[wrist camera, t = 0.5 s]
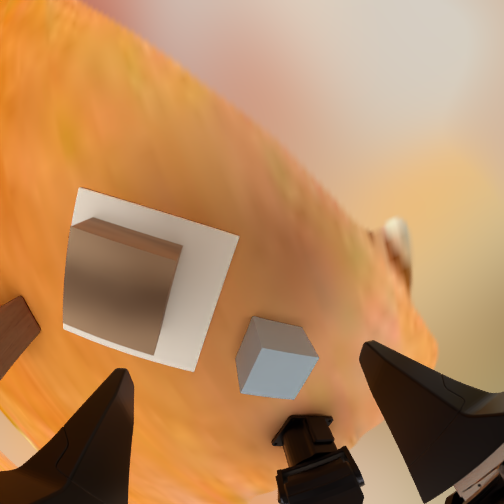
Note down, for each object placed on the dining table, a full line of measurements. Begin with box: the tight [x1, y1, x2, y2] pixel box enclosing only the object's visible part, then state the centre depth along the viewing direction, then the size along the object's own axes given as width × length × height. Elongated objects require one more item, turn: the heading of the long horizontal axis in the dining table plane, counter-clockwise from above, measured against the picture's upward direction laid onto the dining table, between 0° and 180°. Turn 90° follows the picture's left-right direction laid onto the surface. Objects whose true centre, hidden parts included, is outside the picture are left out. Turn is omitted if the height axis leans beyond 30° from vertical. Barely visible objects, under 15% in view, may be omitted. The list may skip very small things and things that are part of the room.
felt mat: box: [63, 187, 239, 372], centre depth 22 cm, size 14×14×1 cm
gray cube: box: [235, 316, 319, 400], centre depth 23 cm, size 5×5×5 cm
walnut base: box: [63, 217, 183, 356], centre depth 19 cm, size 8×8×4 cm
